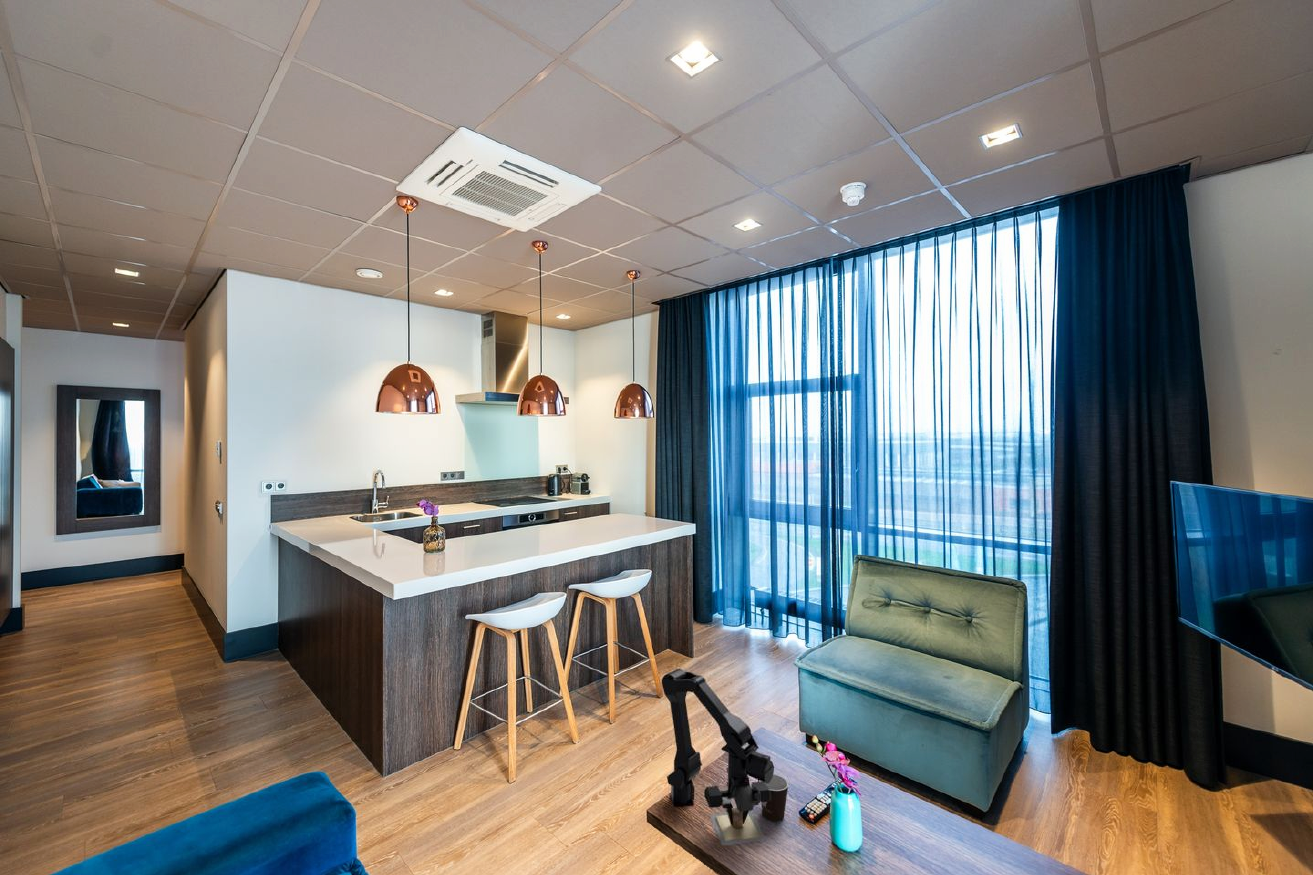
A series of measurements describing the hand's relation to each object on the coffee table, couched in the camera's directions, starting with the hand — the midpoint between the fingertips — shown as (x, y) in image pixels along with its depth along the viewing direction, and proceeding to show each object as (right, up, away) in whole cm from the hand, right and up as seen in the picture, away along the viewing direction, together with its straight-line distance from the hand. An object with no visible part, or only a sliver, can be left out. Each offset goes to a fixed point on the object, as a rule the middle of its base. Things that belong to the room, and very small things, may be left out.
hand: (737, 823), depth 160 cm
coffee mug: (+12, -2, +7) cm, 14 cm away
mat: (0, -1, 0) cm, 1 cm away
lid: (0, -1, 0) cm, 1 cm away
